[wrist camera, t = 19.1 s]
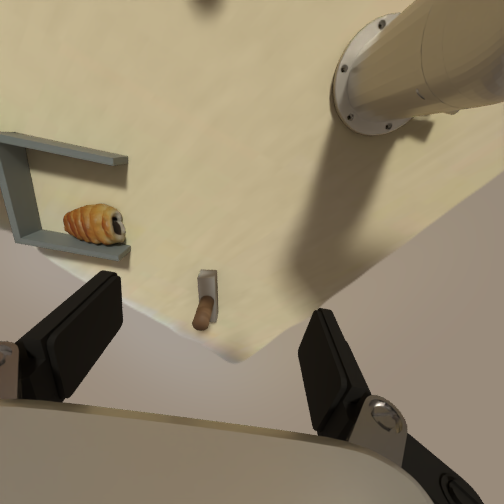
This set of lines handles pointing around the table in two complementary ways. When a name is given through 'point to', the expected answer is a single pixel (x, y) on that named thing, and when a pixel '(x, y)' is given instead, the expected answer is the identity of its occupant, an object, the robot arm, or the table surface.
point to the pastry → (95, 224)
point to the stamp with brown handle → (206, 300)
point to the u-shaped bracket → (24, 203)
